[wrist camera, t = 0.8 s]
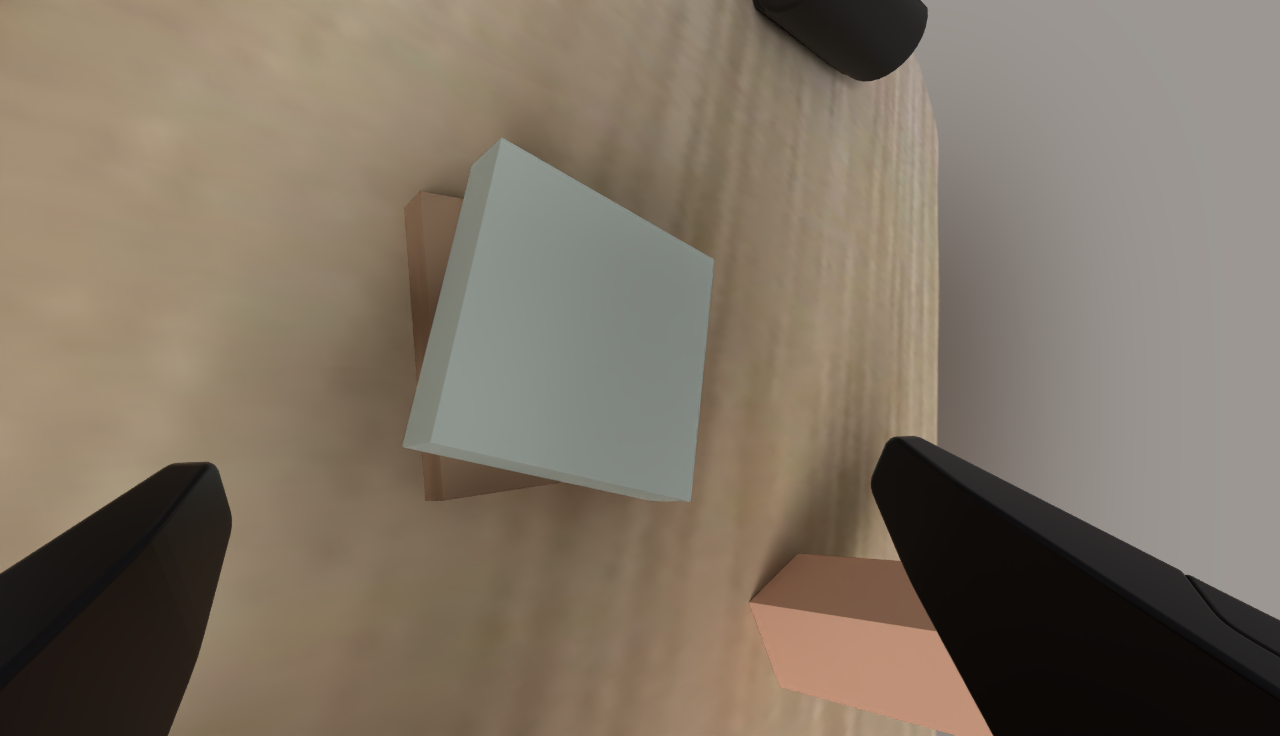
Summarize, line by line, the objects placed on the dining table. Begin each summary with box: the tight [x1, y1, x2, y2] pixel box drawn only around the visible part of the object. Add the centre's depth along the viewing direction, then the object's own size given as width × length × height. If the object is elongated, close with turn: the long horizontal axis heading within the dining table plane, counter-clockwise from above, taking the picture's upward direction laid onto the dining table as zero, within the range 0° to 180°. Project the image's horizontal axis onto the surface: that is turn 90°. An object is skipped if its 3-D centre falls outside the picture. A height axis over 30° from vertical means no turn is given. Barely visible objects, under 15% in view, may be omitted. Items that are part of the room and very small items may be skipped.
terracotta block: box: [749, 554, 993, 736], centre depth 26 cm, size 4×4×11 cm
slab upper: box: [402, 137, 714, 501], centre depth 22 cm, size 10×10×2 cm
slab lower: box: [404, 191, 561, 501], centre depth 23 cm, size 10×10×2 cm
